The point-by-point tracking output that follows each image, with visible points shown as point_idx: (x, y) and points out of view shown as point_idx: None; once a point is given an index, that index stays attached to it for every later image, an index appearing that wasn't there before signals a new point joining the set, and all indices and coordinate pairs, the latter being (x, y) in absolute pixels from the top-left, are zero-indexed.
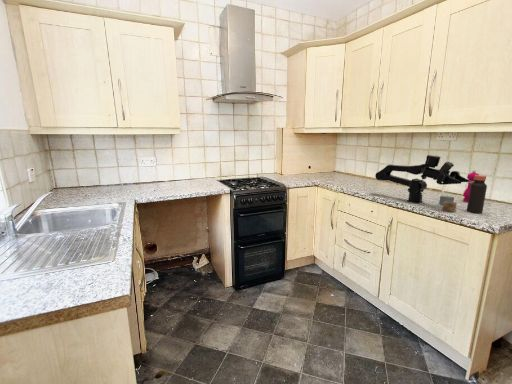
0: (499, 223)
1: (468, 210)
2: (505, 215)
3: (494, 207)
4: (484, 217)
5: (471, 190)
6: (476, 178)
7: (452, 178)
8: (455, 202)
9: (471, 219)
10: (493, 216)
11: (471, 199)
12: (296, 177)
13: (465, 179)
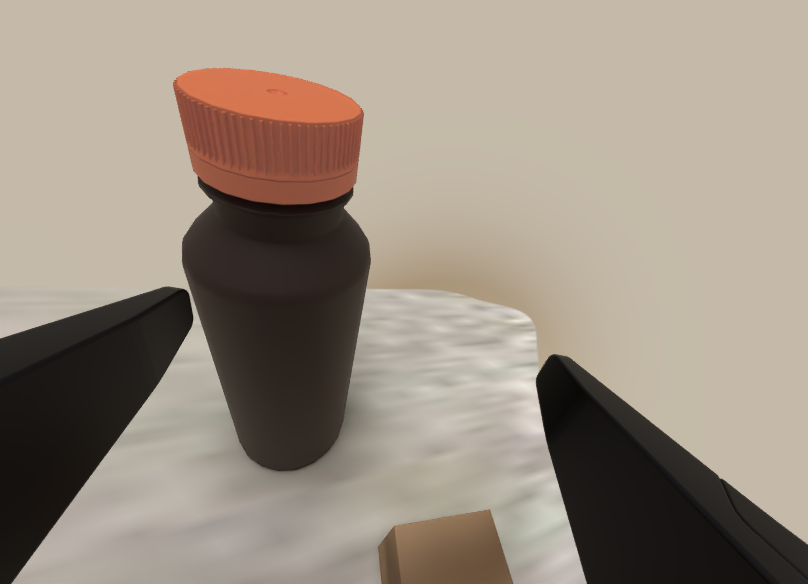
0: (463, 307)
1: (330, 446)
2: None
3: None
4: (410, 355)
5: (340, 340)
6: (348, 166)
7: (782, 527)
8: (407, 533)
9: (514, 393)
10: None
11: (345, 386)
12: None
13: (142, 331)
